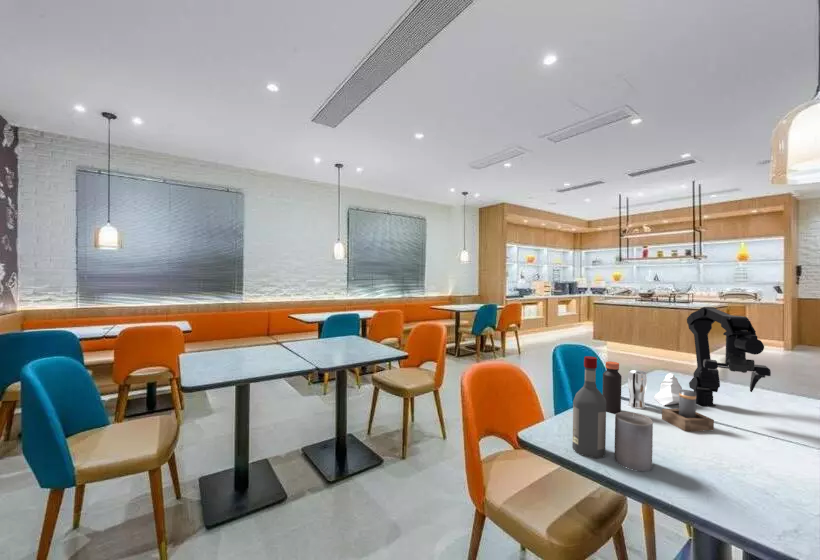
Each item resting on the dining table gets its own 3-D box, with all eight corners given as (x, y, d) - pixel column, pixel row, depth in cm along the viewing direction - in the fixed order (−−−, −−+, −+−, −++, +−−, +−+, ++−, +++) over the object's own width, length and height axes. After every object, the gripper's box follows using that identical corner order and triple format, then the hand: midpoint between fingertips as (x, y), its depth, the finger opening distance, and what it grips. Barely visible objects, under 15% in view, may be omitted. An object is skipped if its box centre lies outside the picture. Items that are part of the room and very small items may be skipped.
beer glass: (645, 410, 149) (646, 375, 149) (626, 406, 154) (627, 372, 153) (647, 406, 155) (647, 371, 155) (628, 402, 159) (629, 368, 159)
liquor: (605, 448, 116) (607, 356, 116) (604, 460, 108) (606, 362, 108) (574, 441, 121) (576, 353, 120) (571, 453, 113) (573, 358, 113)
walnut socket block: (661, 419, 141) (662, 408, 141) (688, 418, 142) (688, 408, 142) (685, 431, 130) (685, 420, 130) (713, 430, 131) (713, 419, 131)
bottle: (616, 407, 152) (617, 361, 152) (624, 413, 146) (625, 365, 145) (599, 407, 153) (600, 360, 153) (606, 413, 146) (607, 364, 146)
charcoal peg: (675, 420, 138) (675, 389, 138) (687, 420, 138) (688, 389, 138) (686, 426, 133) (686, 394, 133) (699, 425, 133) (699, 393, 133)
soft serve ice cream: (646, 404, 161) (641, 372, 165) (670, 404, 166) (665, 372, 169) (674, 407, 150) (668, 372, 153) (699, 406, 154) (693, 372, 158)
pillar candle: (617, 451, 114) (618, 405, 114) (654, 462, 108) (655, 412, 108) (611, 464, 107) (612, 414, 106) (650, 476, 100) (651, 423, 100)
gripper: (706, 349, 136) (705, 390, 137) (775, 356, 126) (773, 400, 126) (703, 344, 146) (702, 383, 146) (767, 350, 135) (766, 392, 135)
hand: (734, 389), depth 138 cm, fingers open, 9 cm apart
